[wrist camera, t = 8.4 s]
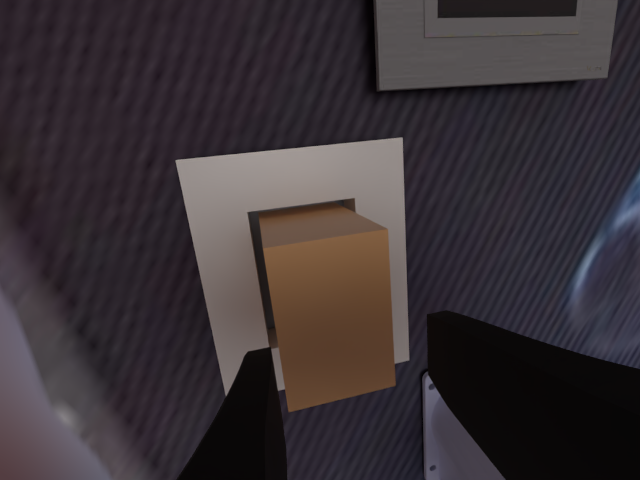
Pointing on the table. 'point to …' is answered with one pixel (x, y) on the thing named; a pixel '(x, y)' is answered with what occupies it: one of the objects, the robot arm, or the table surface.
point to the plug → (329, 302)
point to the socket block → (274, 194)
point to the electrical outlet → (490, 42)
